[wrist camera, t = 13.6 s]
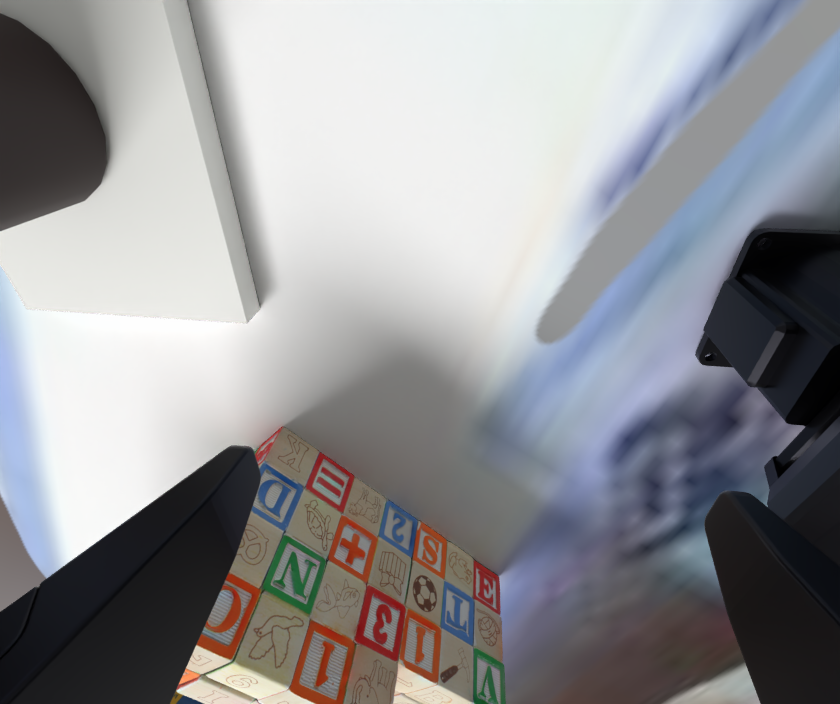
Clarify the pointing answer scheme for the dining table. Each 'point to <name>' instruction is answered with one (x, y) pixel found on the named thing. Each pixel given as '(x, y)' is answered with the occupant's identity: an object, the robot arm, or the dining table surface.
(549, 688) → the dining table surface
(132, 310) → the white flat block
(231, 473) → the robot arm
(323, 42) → the dining table surface
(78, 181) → the vinegar
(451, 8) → the dining table surface
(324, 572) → the stack of blocks
